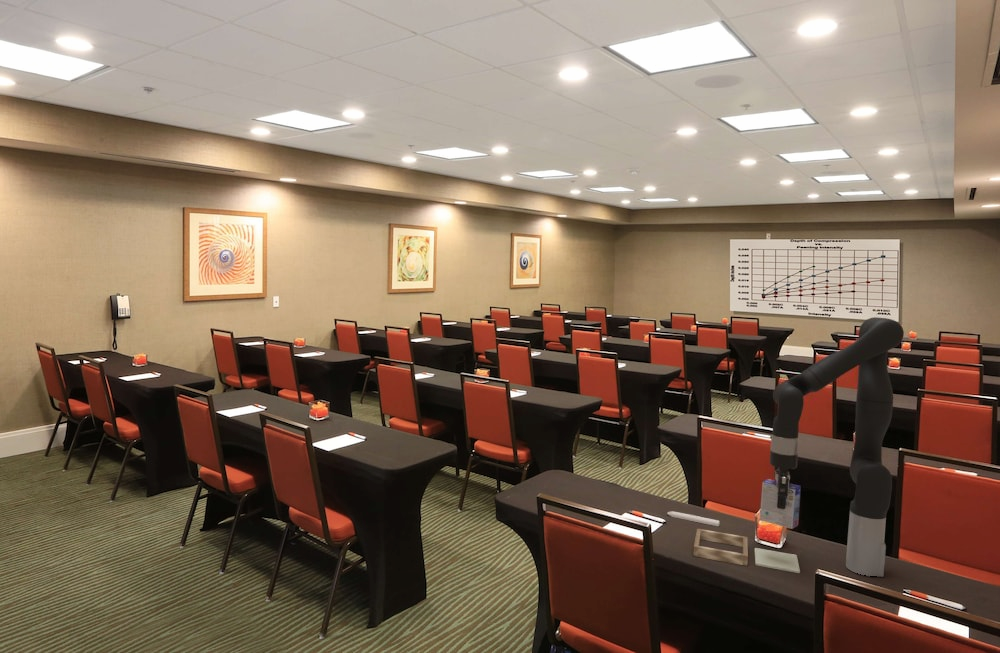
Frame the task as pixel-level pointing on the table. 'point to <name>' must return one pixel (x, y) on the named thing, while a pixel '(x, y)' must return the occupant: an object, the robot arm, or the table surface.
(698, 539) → the maple sleeve
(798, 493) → the ink cartridge box
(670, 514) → the marker
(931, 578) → the table surface
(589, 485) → the table surface
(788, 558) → the sage pad
